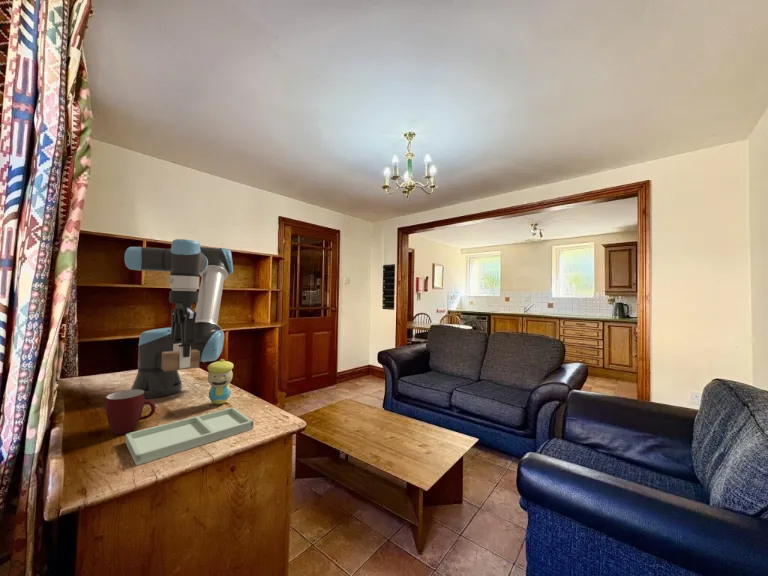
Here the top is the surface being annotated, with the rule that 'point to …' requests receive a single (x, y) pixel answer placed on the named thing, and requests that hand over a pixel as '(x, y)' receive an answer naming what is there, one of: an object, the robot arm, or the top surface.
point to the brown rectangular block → (172, 360)
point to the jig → (185, 434)
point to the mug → (126, 410)
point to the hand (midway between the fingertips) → (181, 365)
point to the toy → (220, 380)
